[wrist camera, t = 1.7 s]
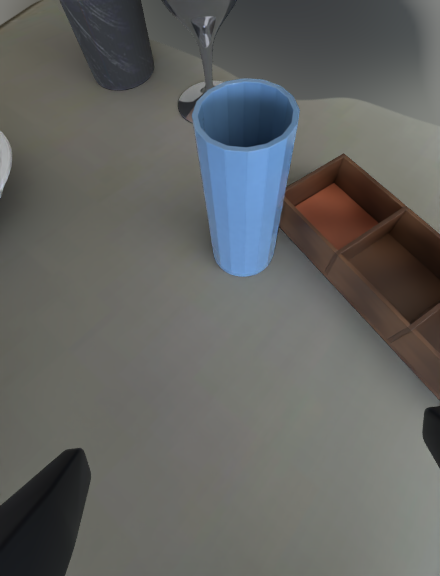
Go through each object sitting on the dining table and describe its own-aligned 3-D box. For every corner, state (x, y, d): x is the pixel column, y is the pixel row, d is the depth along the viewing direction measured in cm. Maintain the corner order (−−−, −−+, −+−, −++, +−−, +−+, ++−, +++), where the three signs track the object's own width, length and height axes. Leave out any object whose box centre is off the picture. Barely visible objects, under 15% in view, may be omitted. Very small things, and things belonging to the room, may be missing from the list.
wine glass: (234, 72, 36) (231, -148, 22) (258, 117, 33) (271, -109, 19) (166, 88, 35) (121, -126, 22) (184, 136, 32) (142, -81, 18)
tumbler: (285, 255, 26) (321, 118, 14) (235, 288, 25) (231, 168, 14) (249, 215, 28) (256, 65, 16) (201, 244, 27) (173, 106, 15)
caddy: (534, 366, 21) (584, 355, 18) (464, 427, 20) (505, 427, 17) (332, 183, 29) (343, 153, 26) (272, 219, 27) (276, 192, 24)
